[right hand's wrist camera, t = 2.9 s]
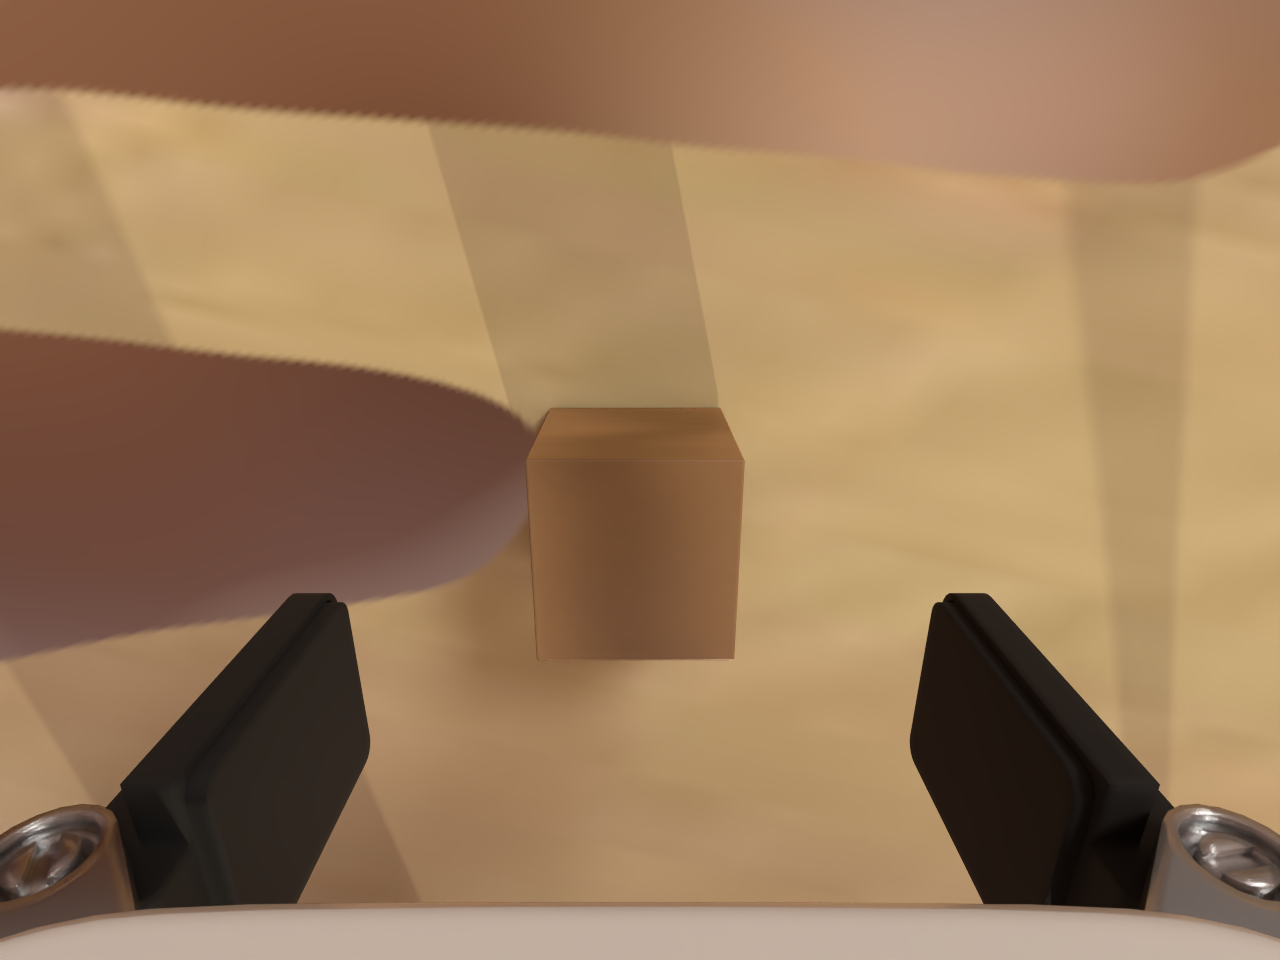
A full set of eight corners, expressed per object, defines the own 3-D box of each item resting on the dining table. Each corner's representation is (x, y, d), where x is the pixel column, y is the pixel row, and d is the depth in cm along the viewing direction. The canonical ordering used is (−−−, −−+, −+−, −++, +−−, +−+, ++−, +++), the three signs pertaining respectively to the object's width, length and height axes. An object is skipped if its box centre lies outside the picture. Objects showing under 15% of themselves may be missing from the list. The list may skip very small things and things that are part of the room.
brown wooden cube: (721, 407, 19) (745, 459, 15) (714, 571, 21) (734, 660, 17) (549, 407, 19) (524, 459, 15) (557, 572, 21) (536, 661, 17)
